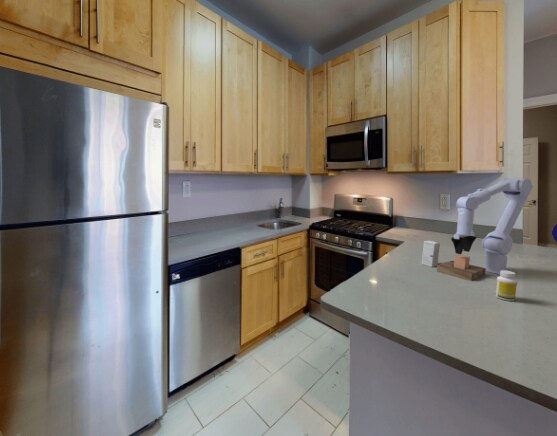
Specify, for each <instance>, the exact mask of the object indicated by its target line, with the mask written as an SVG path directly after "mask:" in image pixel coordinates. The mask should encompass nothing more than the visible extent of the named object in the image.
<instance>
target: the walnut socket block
mask: <svg viewBox="0 0 557 436" xmlns="http://www.w3.org/2000/svg"><path fill="white" fill-rule="evenodd" d="M436 272H438V273H441V274H445V275H448V276H452V277H456V278H459V279H464V280H466V281H471V282H472V281H474V280H476V279H479V278H481V277H484V276H486V273H487V271H486V268H484V266H483V267H482V266H477V265H473V264H471V263H469V269H466V270H465V269H461V268H456V267H454V260H449V261H446V262H443V263H440V264H437V266H436Z"/></svg>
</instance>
